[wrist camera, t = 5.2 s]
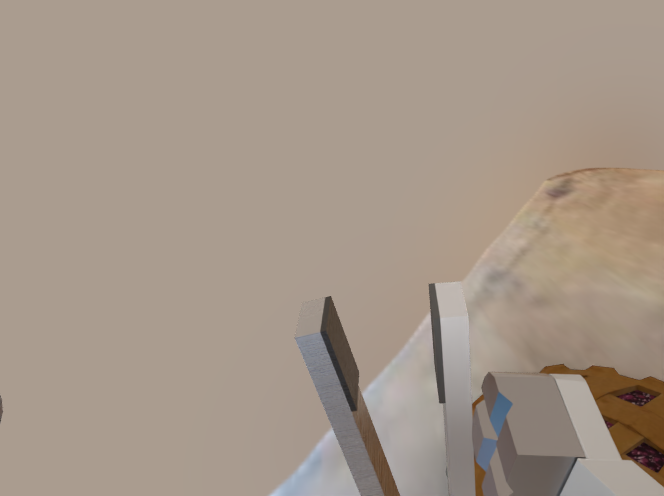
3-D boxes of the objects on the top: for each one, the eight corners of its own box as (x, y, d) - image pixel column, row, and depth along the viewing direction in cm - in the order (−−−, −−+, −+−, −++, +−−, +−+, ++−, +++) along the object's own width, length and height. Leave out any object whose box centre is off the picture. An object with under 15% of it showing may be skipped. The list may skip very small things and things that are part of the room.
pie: (823, 491, 43) (840, 440, 41) (688, 739, 32) (701, 687, 30) (550, 366, 59) (551, 324, 57) (393, 501, 48) (387, 455, 45)
